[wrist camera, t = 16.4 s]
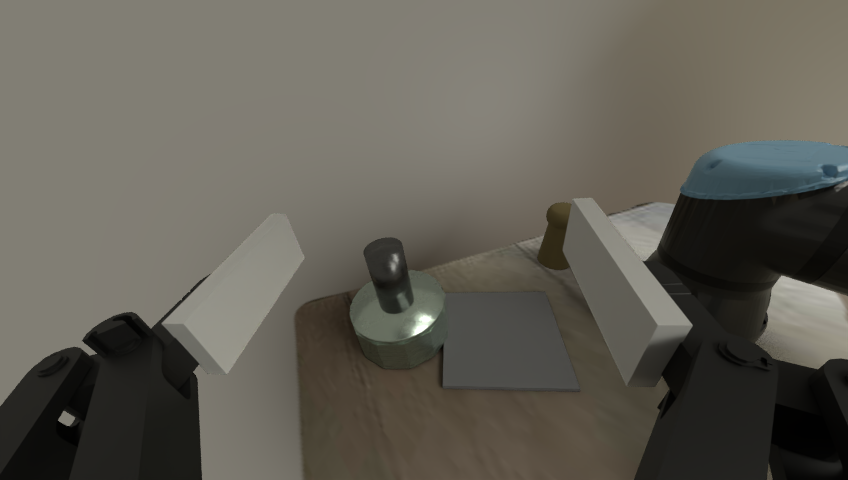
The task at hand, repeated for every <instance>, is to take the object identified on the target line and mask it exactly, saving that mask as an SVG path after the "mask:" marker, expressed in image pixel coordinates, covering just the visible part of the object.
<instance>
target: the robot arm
mask: <svg viewBox="0 0 848 480" xmlns="http://www.w3.org/2000/svg"><path fill="white" fill-rule="evenodd" d="M680 191H681V193H680V196H679V198H678V201H677V203H676V205H675V208H674V210H673V212H672V215H671V217H670V220H669V222H668V224H667V227H666V229H665V231H664V234H663V236H662V238H661V241H660V243H659V245H658V248H657V250H656V251H655V252H654V253H653V254H652V255H651V256H650V257H649V258H648V259H647V260H646V261H642V260H641V259H640V258H639V257H638V255H637V254H636V253H635V252H634V250H633V249H632V248H631V247H630V245H629V244H628V243H627V242H626V240H625V239H624V238H623V236H622V235H621V234H620V233H619V231H618V230H617V229H616V228H615V226H614V225H613V224H612V223H611V221H610V220H609V219H608V218H607V216H606V215H605V214H604V212H603V211H602V210H601V209H600V207H599V206H598V205H597V204H596V202H595V201H594V200H593V199H592V198H578V199H573V200H572V205H571V210H570V215H569V220H568V225H567V230H566V235H565V240H564V245H563V250H562V251H563V253H564V255H565V257H566V259H567V261H568V263H569V265H570V268H571V270H572V272H573V274H574V276H575V278H576V280H577V282H578V285H579V287H580V289H581V291H582V293H583V295H584V297H585V299H586V302H587V304H588V306H589V308H590V310H591V312H592V314H593V316H594V319H595V321H596V323H597V325H598V327H599V329H600V331H601V333H602V335H603V338H604V340H605V342H606V344H607V346H608V348H609V350H610V352H611V355H612V357H613V359H614V361H615V363H616V365H617V367H618V369H619V372H620V374H621V376H622V378H623V380H624V382H625V384H626V386H633V387H655V386H656V384H657V383H658V381H659V380H660V378H661V376H663V378H664V380H665V381H666V383H667V385H668V386H669V388H670V389H669V391H668V392H667V394H666V395H665V397H664V398H663V400H662V401H661V403H660V404H659V406H658V407H657V408H658V409H660V412H659V415H658V417H657V420H656V423H655V425H654V428H653V431H652V433H651V436H650V439H649V441H648V444H647V447H646V449H645V452H644V455H643V457H642V460H641V462H640V465H639V468H638V470H637V473H636V476H635V478H634V480H767V472H768V463H769V465H770V469H771V473H772V477H773V480H848V360H847V359H830V360H828V361H827V362H826V363H825V364H824V365H823V366H821V367H820V368H819V369H813V368H809V367H805V366H801V365H797V364H792V363H788V362H784V361H780V360H776V359H772V357H771V356H770V355H769V354H768V353H767V352H766V351H764V350H763V349H762V348H760V347H759V346H758V345H756V344H754V343H755V342H756V341H757V340H758V339H759V337H760V336H761V335H762V334H763V332H764V331H765V329H766V327H767V322H768V315H767V312H766V311H767V309H768V306H769V303H770V297H771V290H772V287H773V286H774V285H775V283H776V282H777V281H778V279H779V278H780V277H781V276H786V277H789V278H792V279H796V280H799V281H802V282H805V283H808V284H812V285H815V286H818V287H821V288H824V289H827V290H831V291H834V292H837V293H840V294H843V295H847V296H848V147H847V146H838V145H831V144H830V143H823V142H812V141H791V140H788V141H787V140H784V141H783V140H779V141H755V142H744V143H738V144H731V145H726V146H722V147H719V148H716V149H713V150H711V151H709V152H707V153H705V154H704V155H702V156H701V157H700V158H699V159H698V160H697V161H696V163H695V164H694V166H693V168H692V170H691V172H690V174H689V176H688V178H687V180H686V182H685V183H684V184H683V185H682V186H681V188H680ZM303 259H304V255H303V253H302V251H301V248H300V246H299V243H298V241H297V239H296V237H295V234H294V232H293V229H292V227H291V225H290V223H289V220H288V218H287V215H286V214H285V213H282V214H271V215H270V216H269V217H268V218H267V219H266V220H265V221H264V222H263V223H262V224H261V225H260V226H259V227H258V228H257V229H256V230H255V231H254V232H253V233H252V234H251V235H250V236H249V237H248V238H247V239H246V240H245V241H244V242H243V243H242V244H241V245H240V246H239V247H238V248H237V249H236V250H235V251H234V252H233V253H232V254H231V255H230V256H229V257H228V258H227V259H226V260H225V261H224V262H223V263H222V264H221V265H220V266H219V267H218V268H217V269H216V270H215V271H214V272H213V273H211V274H209V275H208V276H207V277H205V278H203V279H202V280H200V281H199V282H198V283H197V284H196V285H195V286H194V287H193V288H192V289H191V290H190V292H188V293H187V294H186V295H185V296H184V297H183V298H182V300H180V301H179V302H178V303H177V304H176V305H175V306H174V307H173V308H172V309H171V310H170V311H169V312H168V313H167V314H166V315H165V316H164V317H163V318H162V319H161V320H160V321H159V322H158V323H157V324H156V325H154V326H153V327H152V329H150V328H149V327H148V326H147V325H146V323H145V322H144V321H143V320H142V319H141V318H140V317H139V316H138V315H137V314H135V313H133V312H129V313H128V312H127V313H122V314H119V315H116V316H113V317H111V318H109V319H107V320H105V321H103V322H101V323H100V324H99V325H97V326H95V327H94V328H93V329H92V330H91V331H90V332H88V333H87V334H86V336H85V337H84V339H83V340H82V341H83V342H84V343H85V344H86V345H88V346H89V347H90V348H91V349H93V350H94V351H95V352H96V353H97V354H95V355H91V356H89V355H88V354H87V353H86V352H84V351H83V350H82V349H81V348H78V347H72V348H67V349H64V350H61V351H59V352H56V353H53V354H51V355H50V356H48V357H46V358H44V359H43V360H42V361H41V362H40V363H38V364H37V365H35V366H34V367H33V368H32V369H31V370H30V371H29V372H28V373H27V374H26V375H25V377H24V378H23V379H22V380H21V381H20V383H19V384H18V385H17V386H16V388H15V389H14V390H13V391H12V393H11V394H10V395H9V396H8V398H7V399H6V400H5V401H4V403H3V404H2V405H1V406H0V480H202V471H201V448H200V426H199V404H198V382H197V377H196V375H195V374H194V373H193V371H194V370H195V369H196V367H197V366H198V365H200V366H201V367H202V368H203V369H204V370H205V371H206V372H207V374H224V375H227V374H228V372H229V371H230V369H231V368H232V366H233V365H234V363H235V362H236V360H237V359H238V357H239V356H240V354H241V353H242V351H243V350H244V348H245V347H246V345H247V344H248V342H249V341H250V339H251V338H252V336H253V335H254V333H255V332H256V330H257V329H258V327H259V326H260V324H261V323H262V321H263V320H264V318H265V316H266V315H267V314H268V312H269V311H270V309H271V308H272V306H273V305H274V303H275V302H276V300H277V299H278V297H279V296H280V294H281V293H282V291H283V290H284V288H285V287H286V285H287V284H288V282H289V281H290V279H291V278H292V276H293V275H294V273H295V272H296V270H297V269H298V267H299V266H300V264H301V263H302V261H303ZM63 411H66V412H67V413H69V414H71V415H72V416H74V417H75V420H74V422H73V423H72V424H71V425H70V426H66V425H64V424H62V423H61V422H59V421H58V419H59V417H60V416H61V414H62V412H63Z"/></svg>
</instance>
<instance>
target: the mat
mask: <svg viewBox="0 0 848 480" xmlns="http://www.w3.org/2000/svg"><path fill="white" fill-rule="evenodd" d="M445 297H446V304H447V311H448V338H447V339H446V341H445V342H444V357H443V388H445V389H485V390H526V391H566V392H580V386H579V384H578V381H577V378H576V375H575V373H574V370H573V367H572V364H571V361H570V359H569V356H568V353H567V350H566V348H565V345H564V342H563V339H562V337H561V334H560V331H559V328H558V326H557V323H556V320H555V317H554V315H553V312H552V309H551V306H550V303H549V301H548V298H547V295H546V292H471V293H445Z"/></svg>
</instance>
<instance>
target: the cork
mask: <svg viewBox="0 0 848 480" xmlns="http://www.w3.org/2000/svg"><path fill="white" fill-rule="evenodd" d="M571 205H572V204H570V203H555V204H553V205H552V206H551V207H550V208H549V209H548V211H547V216H546V217H547V221H548V227H547V230H546V232H545V235H544V238H543V241H542V244H541V247H540V250H539V254H538V257H537V258H538V261H539V262H540V263H541V264H542V265H543V266H545V267H547V268H550V269H555V270H563V269H567V268H569V267H570V265H569V263H568V261H567V259H566V257H565V255H564V253H563V251H562V250H563V245H564V240H565V235H566V230H567V225H568V220H569V215H570V210H571Z"/></svg>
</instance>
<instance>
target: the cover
mask: <svg viewBox="0 0 848 480" xmlns="http://www.w3.org/2000/svg"><path fill="white" fill-rule="evenodd" d="M364 256H365V260H366V263H367V266H368V269H369V272H370V276H371V278H372V280H371V281H370V282H368V283H367V284H366V285H365V286H363V287H362V288H361V289H360V290H359V291H358V293H357V294H356V296H355V297H354V299H353V301H352V304H351V307H350V318H351V321H352V324H353V327H354V329H355V332H356V335H357V337H358V340H359V342H360V345H361V347H362V349H363V352H364V354H365V357H366V358H368V359H369V360H371V361H373V362H374V363H376V364H378V365H379V366H381V367H383V368H384V369H411V368H413V367H415V366H417V365H419V364H421V363H423V362H424V361H426V360H428V359H430V358H432V357H434V356H435V355H436V354H437V352H438V351H439V349H440V348H441V346H442V345H443V344H444V342H445V341H446V339H447V338H448V311H447V304H446V297H445V293H444V292H443V289H442V287H441V285H440V284H439V282H438V281H437V280H436V279H435V278H433V277H432V276H430V275H428V274H426V273H424V272H420V271H415V270H408V269H407V264H406V260H405V255H404V250H403V246H402V243H401V241H400V240H398V239H395V238H381V239H378V240H375V241H373V242H371V243H370V244H369V245H367V247H366V248H365V249H364Z"/></svg>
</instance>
